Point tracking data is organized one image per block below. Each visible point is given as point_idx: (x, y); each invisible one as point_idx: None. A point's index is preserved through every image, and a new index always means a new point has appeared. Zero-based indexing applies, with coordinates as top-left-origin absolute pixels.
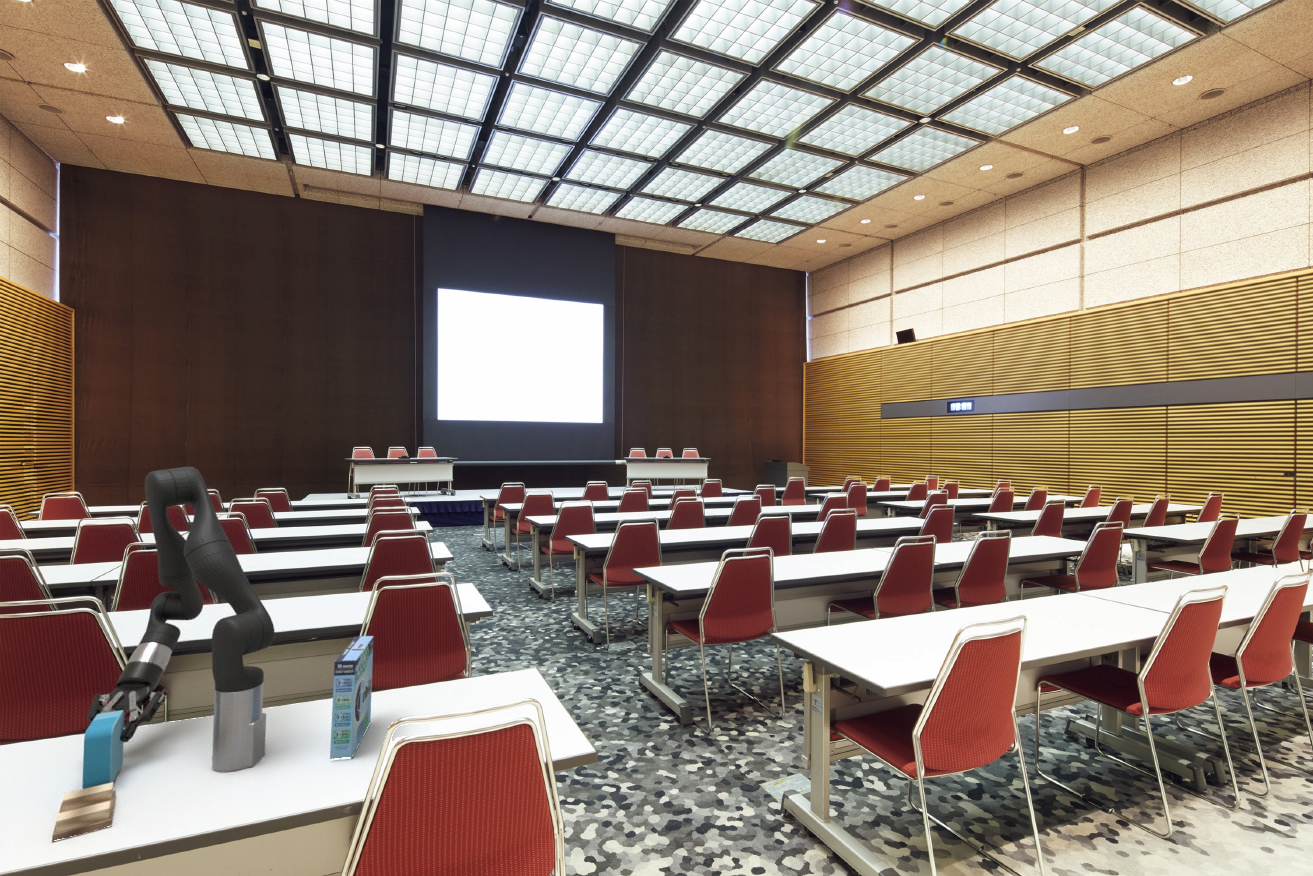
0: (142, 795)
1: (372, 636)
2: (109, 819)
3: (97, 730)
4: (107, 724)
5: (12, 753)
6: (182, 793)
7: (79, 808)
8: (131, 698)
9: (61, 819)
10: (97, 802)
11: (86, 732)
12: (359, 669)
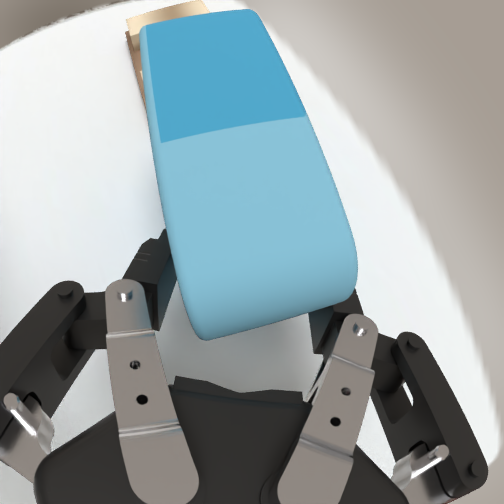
0: (97, 127)
1: None
2: (128, 33)
3: (205, 14)
4: (178, 39)
5: (497, 430)
6: (31, 128)
7: None
8: (158, 426)
9: (195, 2)
10: None
11: (248, 9)
12: None
